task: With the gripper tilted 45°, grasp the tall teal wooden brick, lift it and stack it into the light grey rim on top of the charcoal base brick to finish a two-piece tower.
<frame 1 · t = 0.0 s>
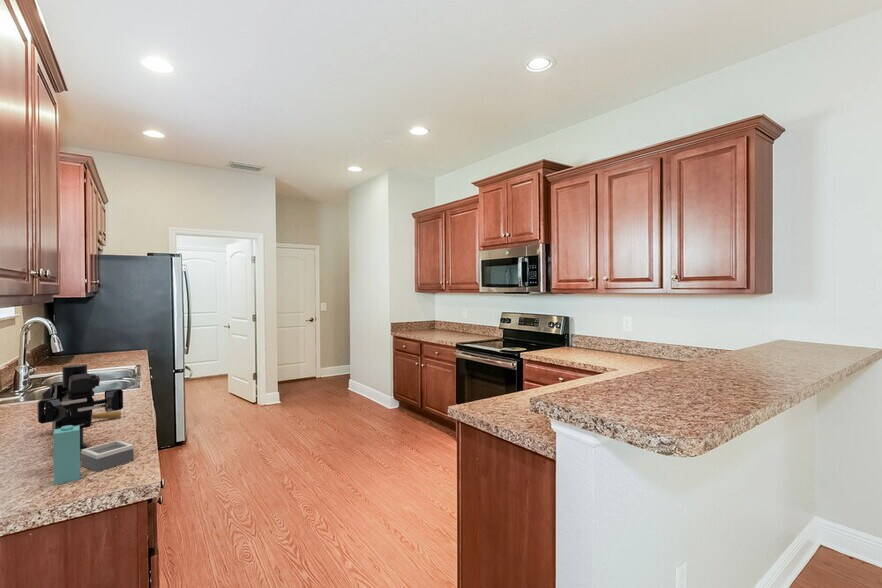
hand: (88, 410, 117), 17 cm above the countertop, tool horizontal, fingers open, 9 cm apart
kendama: (91, 423, 161), on the countertop
tall brick: (67, 479, 112), on the countertop
tower base: (107, 463, 122), on the countertop
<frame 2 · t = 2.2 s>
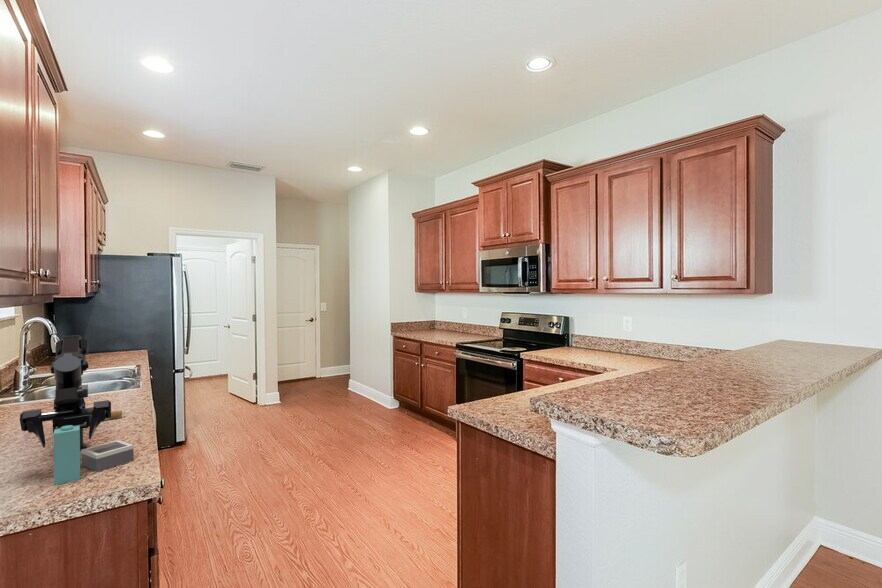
hand: (67, 442, 114), 9 cm above the countertop, tool tilted 45°, fingers open, 9 cm apart
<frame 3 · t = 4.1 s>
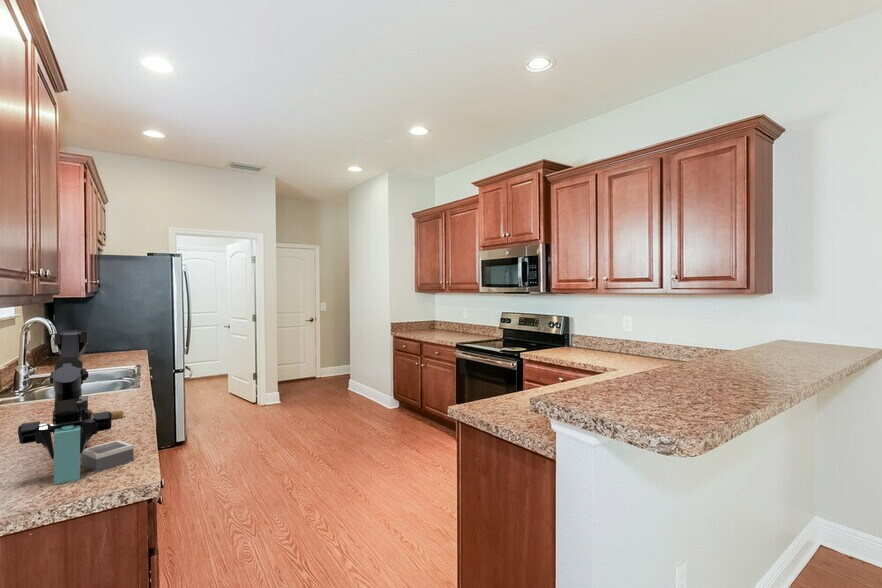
hand: (66, 455, 111), 7 cm above the countertop, tool tilted 45°, fingers closed on tall brick, 5 cm apart
tall brick: (67, 479, 112), on the countertop, touching gripper
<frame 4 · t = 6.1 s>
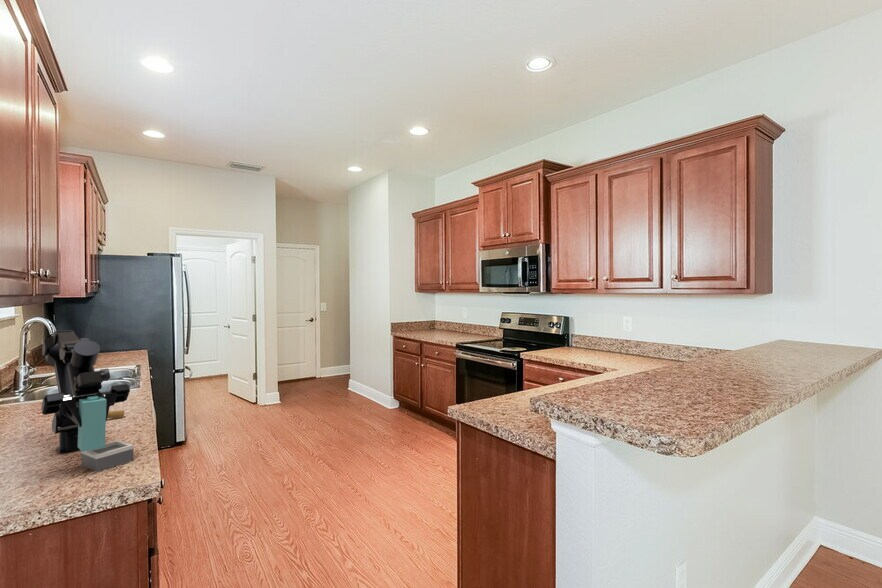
hand: (93, 423, 117), 13 cm above the countertop, tool tilted 45°, fingers closed on tall brick, 5 cm apart
tall brick: (91, 447, 118), point 6 cm above the countertop, touching gripper
everything else where it was.
when the fingers open (11 cm above the countertop, at t = 8.0 s): tall brick stays where it is, resting on tower base.
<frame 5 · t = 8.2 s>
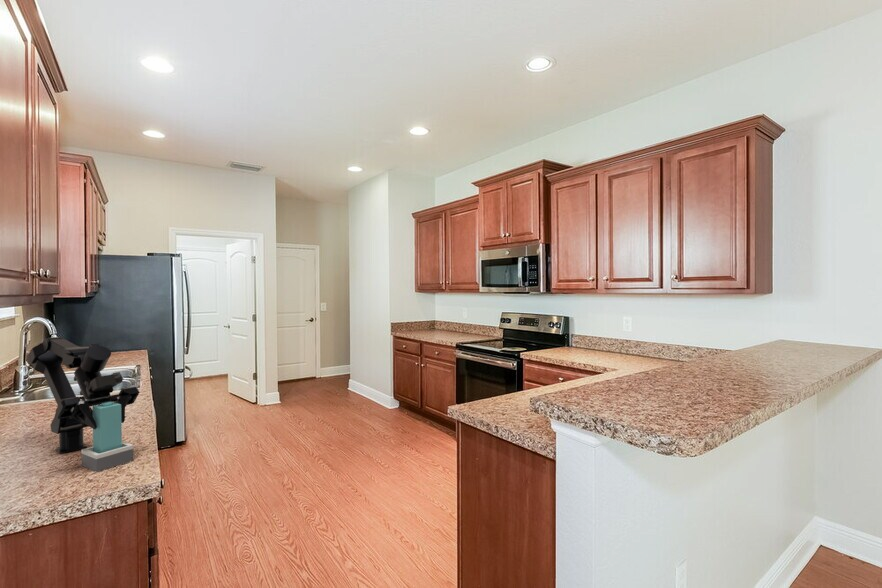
hand: (109, 425, 122), 11 cm above the countertop, tool tilted 45°, fingers open, 6 cm apart
tall brick: (107, 450, 122), point 3 cm above the countertop, touching tower base
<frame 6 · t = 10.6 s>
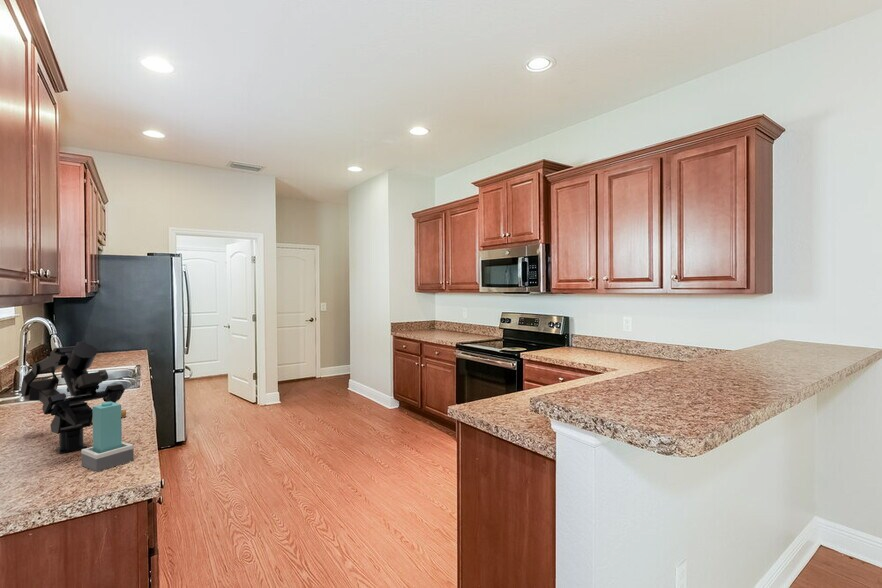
hand: (95, 420, 126), 11 cm above the countertop, tool tilted 45°, fingers open, 9 cm apart
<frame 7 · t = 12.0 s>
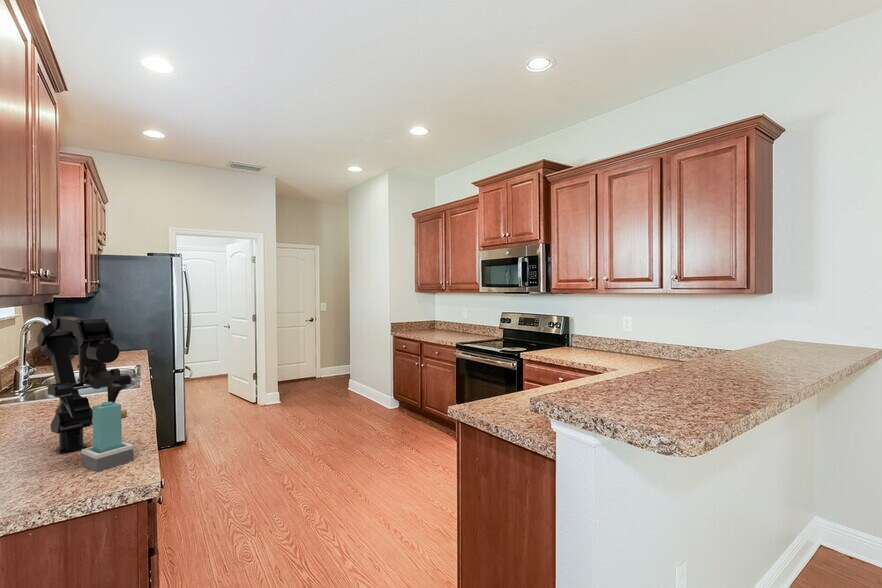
hand: (92, 413, 127), 13 cm above the countertop, tool pointing down, fingers open, 9 cm apart
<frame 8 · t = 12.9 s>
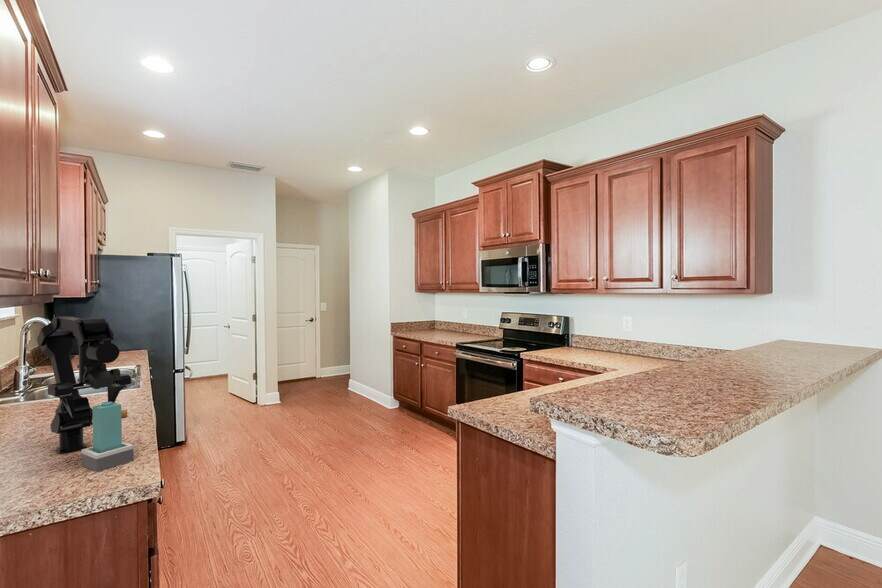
hand: (92, 413, 127), 13 cm above the countertop, tool pointing down, fingers open, 9 cm apart
at the end: tall brick 0.1 cm off-centre on the tower base, point 3.5 cm above the tower base's base; tall brick tilted 0°; the gripper is holding nothing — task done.
